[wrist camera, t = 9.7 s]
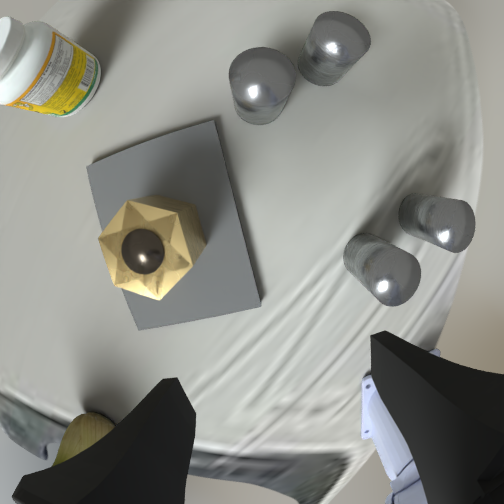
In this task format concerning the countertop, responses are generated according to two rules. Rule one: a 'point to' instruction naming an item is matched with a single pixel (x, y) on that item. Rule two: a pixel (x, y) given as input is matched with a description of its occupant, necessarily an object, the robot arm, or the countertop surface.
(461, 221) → the cylinder
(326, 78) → the cylinder
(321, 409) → the countertop surface
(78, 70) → the supplement bottle
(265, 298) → the countertop surface
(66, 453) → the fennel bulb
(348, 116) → the countertop surface
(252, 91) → the cylinder
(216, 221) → the mat
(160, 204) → the nut
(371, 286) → the cylinder
